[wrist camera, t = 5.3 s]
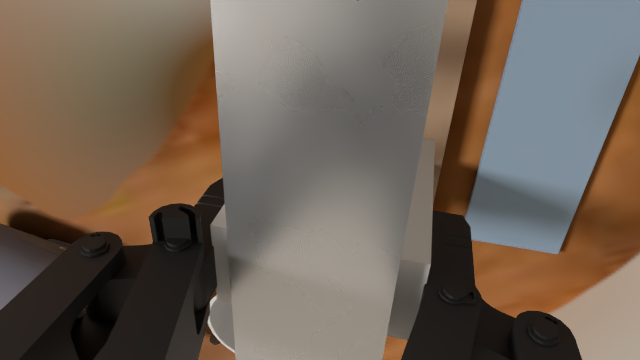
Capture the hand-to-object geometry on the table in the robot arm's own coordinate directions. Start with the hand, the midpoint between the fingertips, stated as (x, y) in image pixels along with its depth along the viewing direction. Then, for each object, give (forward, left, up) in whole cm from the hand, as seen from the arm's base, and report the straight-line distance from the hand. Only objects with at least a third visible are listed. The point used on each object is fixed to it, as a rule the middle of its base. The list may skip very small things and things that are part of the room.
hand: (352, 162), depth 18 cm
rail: (0, 0, +2) cm, 2 cm away
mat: (0, +12, -20) cm, 23 cm away
